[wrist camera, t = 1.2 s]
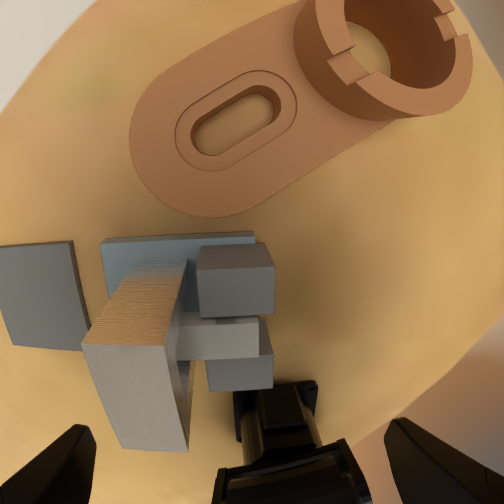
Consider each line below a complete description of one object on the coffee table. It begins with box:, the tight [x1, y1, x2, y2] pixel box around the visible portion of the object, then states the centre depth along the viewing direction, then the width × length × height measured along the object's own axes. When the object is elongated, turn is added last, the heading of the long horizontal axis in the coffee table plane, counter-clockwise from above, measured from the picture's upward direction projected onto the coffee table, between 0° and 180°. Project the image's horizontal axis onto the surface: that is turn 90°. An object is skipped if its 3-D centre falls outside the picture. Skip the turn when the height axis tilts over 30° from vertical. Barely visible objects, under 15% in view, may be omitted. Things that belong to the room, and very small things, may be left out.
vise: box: [100, 231, 275, 392], centre depth 17 cm, size 8×10×5 cm
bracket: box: [129, 0, 473, 218], centre depth 13 cm, size 18×8×7 cm, turn 123°
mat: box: [0, 241, 91, 351], centre depth 18 cm, size 8×8×1 cm
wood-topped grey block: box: [81, 258, 195, 452], centre depth 14 cm, size 6×3×9 cm, turn 1°
